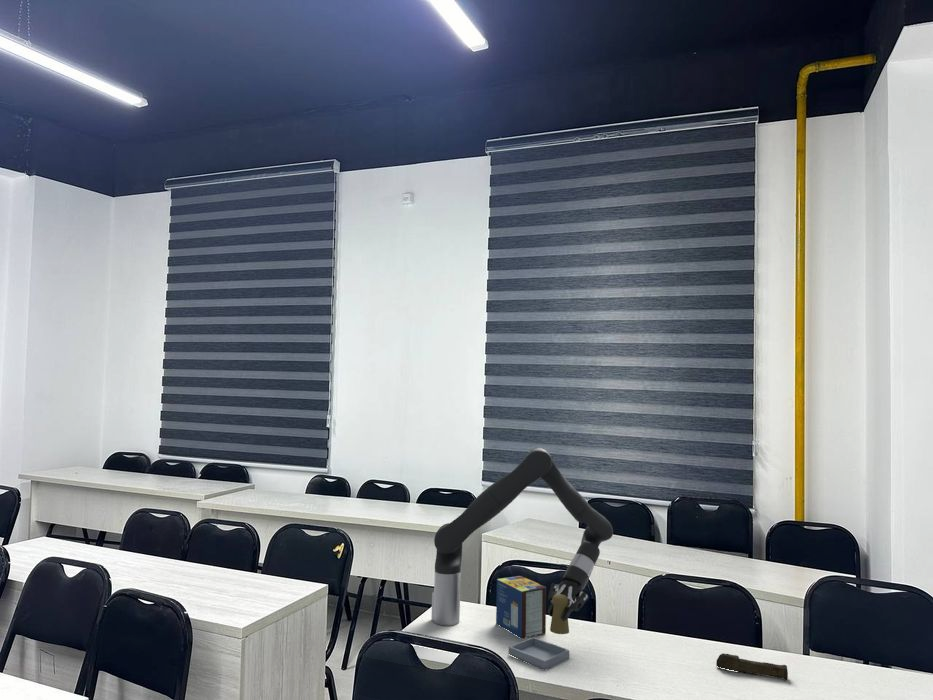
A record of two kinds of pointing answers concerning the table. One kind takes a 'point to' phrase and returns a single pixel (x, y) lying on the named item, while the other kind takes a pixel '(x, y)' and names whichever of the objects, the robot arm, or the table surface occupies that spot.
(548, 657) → the tray
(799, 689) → the table surface
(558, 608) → the cork
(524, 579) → the protein box
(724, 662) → the hand tool
